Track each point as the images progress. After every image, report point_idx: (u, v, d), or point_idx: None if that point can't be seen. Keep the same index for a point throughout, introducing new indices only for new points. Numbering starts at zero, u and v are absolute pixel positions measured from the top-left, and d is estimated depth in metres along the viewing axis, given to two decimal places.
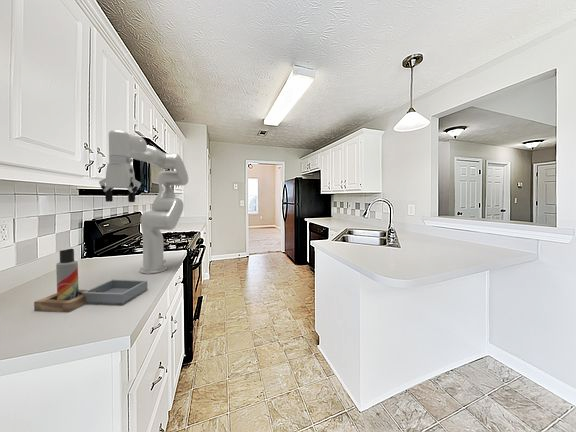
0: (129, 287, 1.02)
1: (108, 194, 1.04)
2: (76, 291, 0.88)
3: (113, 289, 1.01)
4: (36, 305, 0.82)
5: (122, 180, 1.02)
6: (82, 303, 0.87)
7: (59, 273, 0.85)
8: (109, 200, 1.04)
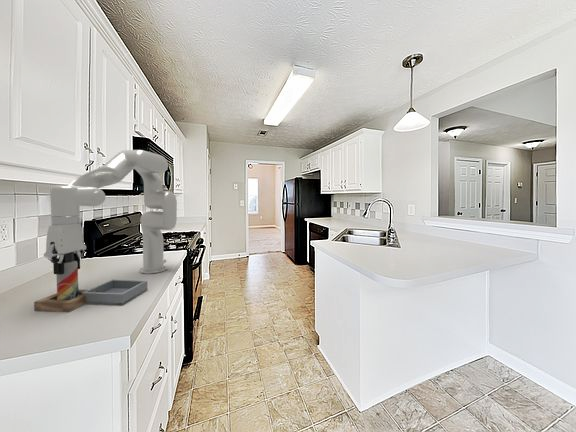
0: (129, 287, 1.02)
1: None
2: (76, 291, 0.88)
3: (113, 289, 1.01)
4: (36, 305, 0.82)
5: (79, 242, 0.89)
6: (82, 303, 0.87)
7: None
8: None
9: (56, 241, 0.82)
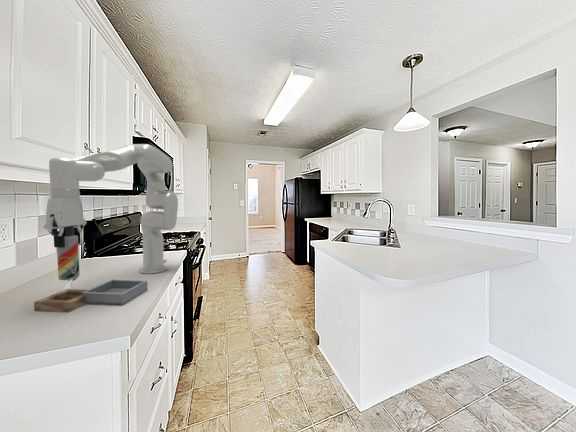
0: (129, 287, 1.02)
1: None
2: (77, 265, 0.88)
3: (113, 289, 1.01)
4: (36, 305, 0.82)
5: (79, 217, 0.89)
6: (82, 303, 0.87)
7: None
8: None
9: (56, 213, 0.81)
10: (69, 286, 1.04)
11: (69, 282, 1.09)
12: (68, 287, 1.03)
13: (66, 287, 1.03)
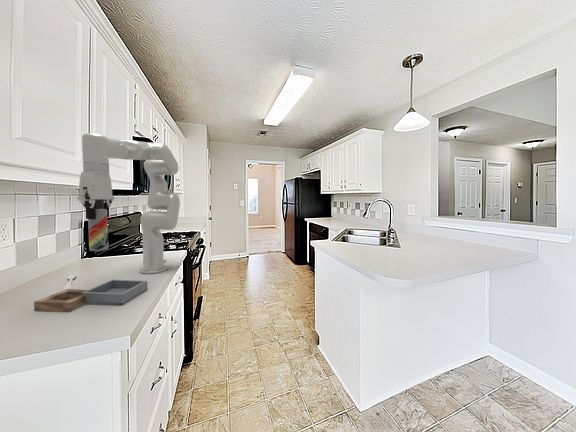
0: (129, 287, 1.02)
1: None
2: (106, 237, 0.92)
3: (113, 289, 1.01)
4: (36, 305, 0.82)
5: (108, 191, 0.93)
6: (82, 303, 0.87)
7: None
8: None
9: (88, 186, 0.85)
10: (69, 286, 1.04)
11: (69, 282, 1.09)
12: (68, 287, 1.03)
13: (66, 287, 1.03)
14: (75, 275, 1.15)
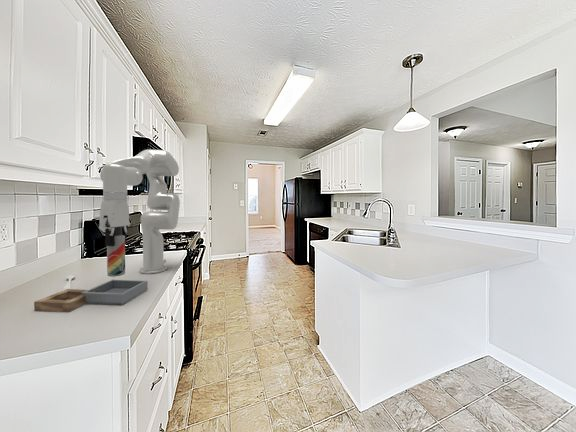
0: (129, 287, 1.02)
1: None
2: (124, 263, 0.95)
3: (113, 289, 1.01)
4: (36, 305, 0.82)
5: (126, 218, 0.96)
6: (82, 303, 0.87)
7: None
8: None
9: (109, 215, 0.89)
10: (69, 286, 1.04)
11: (68, 282, 1.09)
12: (68, 287, 1.03)
13: (66, 287, 1.03)
14: (74, 275, 1.14)
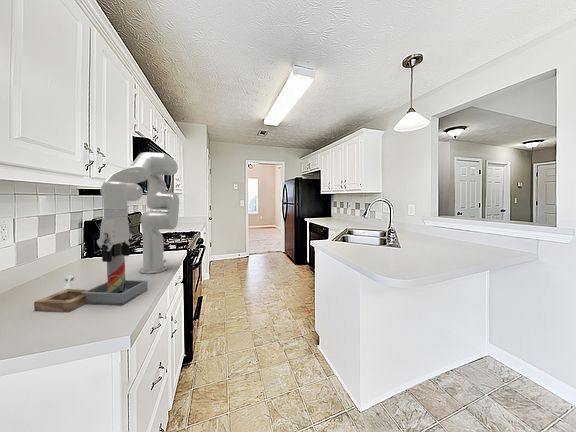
0: (129, 287, 1.02)
1: None
2: (124, 282, 0.96)
3: None
4: (36, 305, 0.82)
5: (126, 234, 0.97)
6: (82, 303, 0.87)
7: (110, 266, 0.92)
8: None
9: (109, 232, 0.89)
10: (69, 286, 1.04)
11: (67, 282, 1.09)
12: (68, 287, 1.03)
13: (66, 287, 1.03)
14: (73, 275, 1.14)
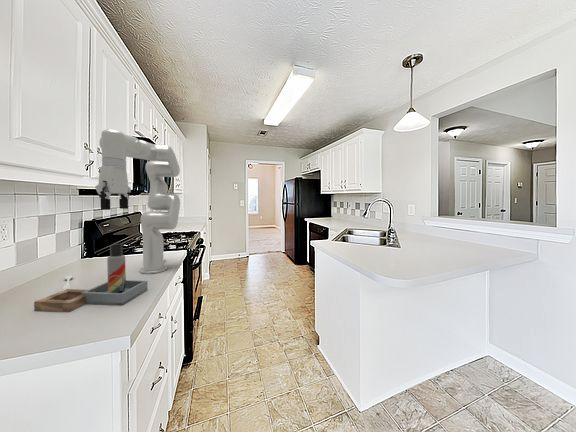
0: (129, 287, 1.02)
1: None
2: (124, 283, 0.96)
3: None
4: (36, 305, 0.82)
5: (125, 186, 0.97)
6: (82, 303, 0.87)
7: (110, 266, 0.92)
8: None
9: (108, 180, 0.89)
10: (68, 286, 1.04)
11: (67, 282, 1.09)
12: (68, 287, 1.03)
13: (65, 287, 1.03)
14: (72, 275, 1.14)
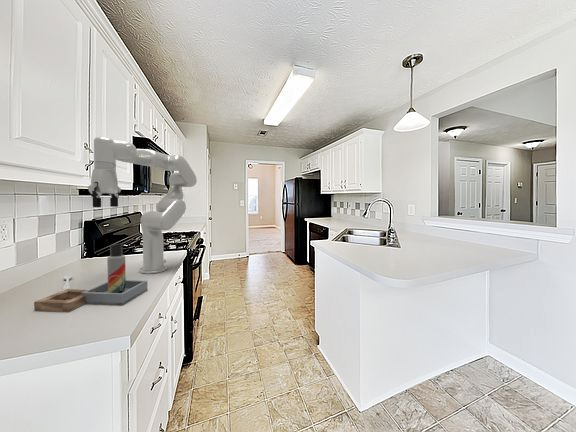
0: (129, 287, 1.02)
1: None
2: (124, 283, 0.96)
3: None
4: (36, 305, 0.82)
5: (115, 186, 1.09)
6: (82, 303, 0.87)
7: (110, 266, 0.92)
8: None
9: (99, 181, 1.02)
10: (68, 286, 1.04)
11: (66, 282, 1.09)
12: (67, 287, 1.03)
13: (65, 287, 1.03)
14: (71, 275, 1.14)
